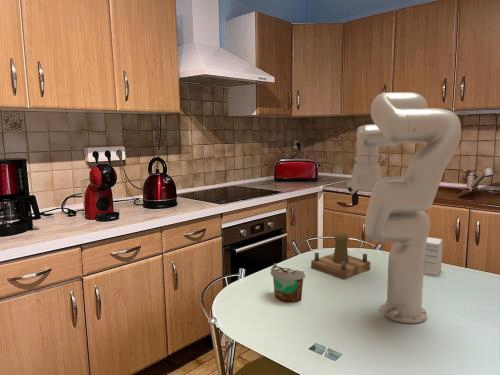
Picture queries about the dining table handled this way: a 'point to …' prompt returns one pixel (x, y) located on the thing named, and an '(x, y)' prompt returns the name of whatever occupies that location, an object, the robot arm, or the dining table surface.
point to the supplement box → (433, 257)
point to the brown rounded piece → (341, 248)
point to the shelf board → (340, 266)
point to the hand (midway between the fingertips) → (366, 206)
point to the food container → (287, 284)
